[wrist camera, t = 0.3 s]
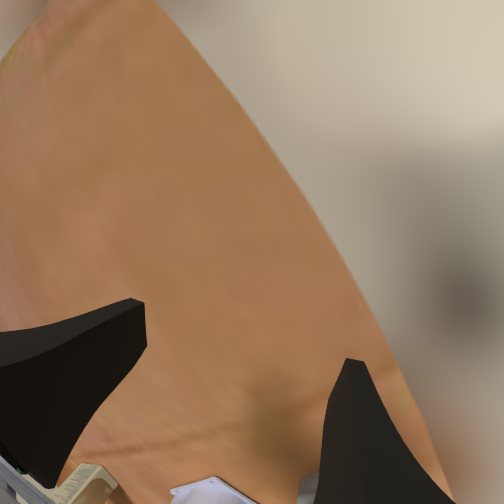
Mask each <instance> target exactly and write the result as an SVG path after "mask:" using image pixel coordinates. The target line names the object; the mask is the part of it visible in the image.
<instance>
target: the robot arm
mask: <svg viewBox="0 0 504 504" xmlns="http://www.w3.org/2000/svg"><path fill="white" fill-rule="evenodd" d="M146 347H147V338H146V324H145V306H144V302H141V301H138V300H135V299H132V298H129V299H125V300H122V301H119V302H116V303H113V304H110V305H107V306H105V307H102V308H99V309H96V310H93V311H91V312H88V313H85V314H82V315H79V316H76V317H73V318H70V319H66V320H63V321H60V322H57V323H53V324H49V325H45V326H40V327H36V328H31V329H24V330H16V331H8V332H0V504H20V503H19V502H18V501H17V500H16V492H17V493H18V494H19V495H20V496H21V497H22V498H23V499H25V500H26V501H27V502H28V503H29V504H56V503H55V502H53V501H52V500H51V499H50V498H48V497H47V496H46V495H44V494H43V493H42V492H41V491H39V490H38V489H37V488H36V487H34V486H33V485H32V484H31V483H30V482H29V481H27V480H26V479H25V478H24V477H23V476H22V475H21V474H19V473H18V472H17V471H16V470H17V469H19V470H20V471H21V472H23V473H24V474H25V475H26V474H28V475H30V476H31V477H32V478H33V479H34V480H36V481H37V482H38V483H39V484H41V485H42V486H43V487H44V488H46V489H52V488H55V486H56V483H57V480H58V478H59V476H60V473H61V471H62V469H63V467H64V464H65V462H66V460H67V458H68V457H69V455H70V453H71V451H72V449H73V447H74V445H75V443H76V442H77V440H78V438H79V437H80V435H81V433H82V432H83V430H84V428H85V427H86V425H87V424H88V422H89V421H90V419H91V418H92V416H93V415H94V413H95V412H96V410H97V409H98V408H99V407H100V405H101V404H102V403H103V402H104V400H105V399H106V398H107V397H108V396H109V395H110V394H111V392H112V391H113V390H114V389H115V388H116V387H117V386H118V384H119V383H120V382H121V381H122V380H123V379H124V378H125V376H126V375H127V374H128V373H129V372H130V371H131V369H132V368H133V367H134V366H135V364H136V363H137V361H138V360H139V358H140V357H141V355H142V353H143V352H144V350H145V348H146ZM14 490H15V491H16V492H15V491H14ZM170 493H171V494H173V495H174V498H173V500H172V502H171V503H170V504H257V503H256V502H254V501H252V500H251V499H249V498H248V497H246V496H244V495H243V494H241V493H240V492H238V491H237V490H235V489H234V488H232V487H231V486H229V485H228V484H226V483H225V482H224V481H222V480H221V479H219V478H218V477H210V478H207V479H204V480H201V481H198V482H194V483H191V484H188V485H184V486H181V487H177V488H173V489H171V490H170ZM313 504H456V503H455V502H453V501H452V500H451V499H450V498H449V497H448V496H447V495H446V494H445V493H444V492H443V491H442V490H441V489H440V488H439V487H438V485H437V484H436V483H435V482H434V481H433V480H432V479H431V478H430V476H429V475H428V474H427V473H426V472H425V470H424V469H423V468H422V467H421V465H420V464H419V463H418V462H417V460H416V459H415V458H414V456H413V455H412V453H411V452H410V450H409V449H408V447H407V446H406V444H405V443H404V441H403V440H402V438H401V436H400V435H399V433H398V431H397V429H396V428H395V426H394V424H393V422H392V420H391V419H390V417H389V415H388V413H387V411H386V409H385V407H384V405H383V403H382V401H381V398H380V396H379V394H378V392H377V390H376V388H375V385H374V383H373V381H372V378H371V376H370V374H369V372H368V369H367V367H366V365H365V363H364V361H359V360H354V359H349V358H346V360H345V362H344V365H343V367H342V369H341V372H340V374H339V376H338V379H337V381H336V383H335V386H334V388H333V390H332V392H331V395H330V397H329V399H328V404H327V409H326V414H325V420H324V425H323V437H322V449H321V460H320V470H319V479H318V485H317V491H316V495H315V499H314V503H313Z"/></svg>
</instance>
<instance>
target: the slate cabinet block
mask: <svg viewBox="0 0 504 504" xmlns="http://www.w3.org/2000/svg"><path fill="white" fill-rule="evenodd" d="M318 479H319V472H316V473H314V474H312V475H309V476H307V477H304V478H301V481H300V486H299V492H298V497H297V502H296V504H313V503H314V499H315V495H316V491H317V485H318Z"/></svg>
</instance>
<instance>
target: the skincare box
mask: <svg viewBox="0 0 504 504" xmlns="http://www.w3.org/2000/svg"><path fill="white" fill-rule="evenodd" d="M117 486H118V483H117V482H116V480H115V479H114V478H113V477H112V476H111V475H110V474H109V473H108V472H107V471H106V469H105V468H104V467H103V466H100V465H93V464H84V463H81V464H80V465H79V466H78V467H77V468H76V469H75V471H74V472H73V473H72V474H71V475H70V476H69V477H68V478H67V479H66V480H65V481H64V482H63V484H62V485H61V486H60V487H59V488H58V489H57V490H56V491H55V492H54V493H53V494H52V495H51V496H50V497H49V498H50V499H51V500H52V501H53V502H55V503H56V504H104V503H105V501H106V500H107V499H108V497H109V496H110V495H111V494H112V492H113V491H114V490H115V488H116V487H117Z"/></svg>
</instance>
